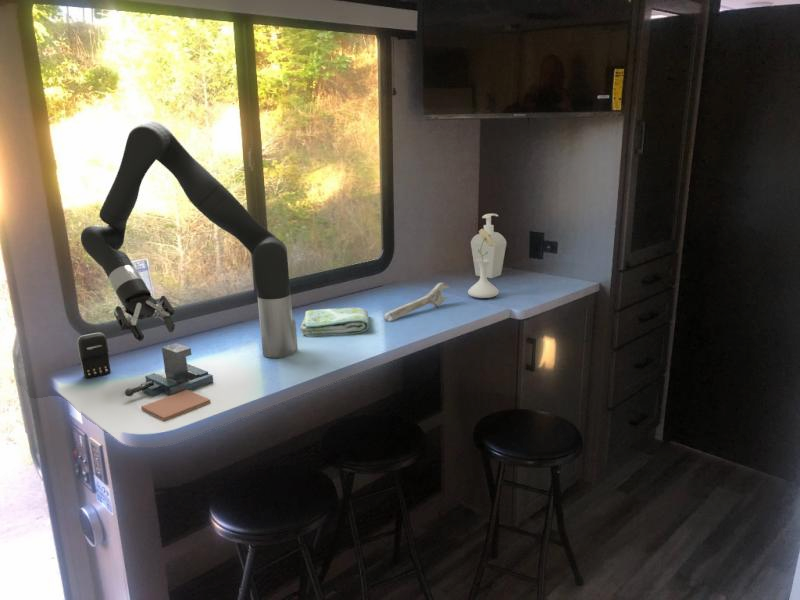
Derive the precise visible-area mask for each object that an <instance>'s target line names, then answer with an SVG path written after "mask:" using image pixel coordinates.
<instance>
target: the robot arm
mask: <svg viewBox="0 0 800 600" xmlns="http://www.w3.org/2000/svg"><path fill="white" fill-rule="evenodd" d="M155 161H157V162H159V163H160V164H161V165H162V166H164V168H166V169H167V170H168V171H169V172H170V173H171V175H173V177H174V178H175V180H176V181H177V182H178V184H179V185H180V187H181V188H182V190H183V192H184V193H185V196H186V198H187V199H188V201H190V203H191V204H192V205H193V206H194V207H195V208H196V210H198V211H199V212H200V214H202V215H203V216H205V218H206V219H208V220H209V222H210V221H211V223H213V224H214V225H216V227H219V228H220V229H221V230H223V231H225V232H226V233H228V234H230V235H232V236H233V237H234V238H236V240H238V241H239V242H240V243H241V244H242V245H243V246H244V248H246V249H247V250H248V251H249V253H250V255H252V266H253V274H254V285H255V289H256V297H257V307H258V317H259V318H258V319H259V327H260V328H259V329H260V338H261V351H262V355H263V357H265V358H271V359H279V358H285V357H289V356H292V355H293V354H294V353H295V352H296V351H298V350H299V349H298V348H299V347H298V335H297V323H296V318H294V317H293V308H292V296H291V283H290V273H289V261H288V260H289V258H288V250H287V247H286V245H285V244H284V242H283V241H282V240H280V239H279V238H278V237H277V236H275V235H274V234H273V233H271V232H270V231H269V230H268V229H266V227H264V226H262V225H261V224H260V223H259V222H258V221H257V220H256V219H255V218H254V217H253V216H252V214H250V212H248V210H247V209H246V208H245V207H244V205H242V204H241V202H240V201H239V200H238V199H237V198H236V197H235V196H234V195H233V194H232V193H231V192H230V191H229V190H228V189H227V188H226V187H225V186H224V185H223V184H222V183H221V182H220V181H219V180H217V179H216V178H215V176H213V175H212V174H211V173H210V172H209V171H208V170H207V169H206V168H205V167H204V166H203V165H202V164H200V162H198V161H197V160H196V159H195V158H194V157H193V156H192V155H191V154H190V153H189V152H188V151H187V149H186V148H185V147H184V146H183V145H182V144H181V143H180V141H179V140H178V139H177V138H176V136H174V134H173V133H172V132H171V131H170V130H169V129H168V127H166V126H164V125H163V124H162V123H160V122H156V121H146V122H143V123H141V124H139V125H137V126H135V127H133V128H132V129H131V130H130V132H129V133H128V137H127V138H126V143H125V146H124V151H123V155H122V158H121V161H120V166H119V168H118V171H117V174H116V176H115V179H114V181H113V183H112V185H111V188H110V189H109V191H108V193H107V195H106V197H105V200H104V202H103V204H102V206H101V208H100V210H99V219H100V220H101V221H102V222H103V223H105V224H106V225H107V226H95V225H91V226H90V225H89V226H86V227H85V228H84V229H82V232H81V234H80V241H81V246H82V247H83V249H84V251H85V252H86V253H87V254H88V255H89V256H90V257H91V258H92V259H93V260H94V261H95V262H96V263H97V264H98V265H99V266H101V268H102V269H103V271H104V273H105V274H106V276H107V278H108V280H109V282H110V284H111V287H112V288H113V292H115V294H116V296H117V297H118V300H119V301H120V303H121V304H122V307H121V306H119V305H117V306H116V307H115V309H114V311H113V315H114V317H115V318H116V321H117V323H118V325H119V327H120V329H121V330H122V331H125V330H129V331H130V332H131V333H132V335H133V337H134V338H135V339H136V340H137V341H139V342H142V341H143V340H144V338H145V336H144V334H143V332H142V330H141V328H140V327H139V325H138V324H137V321H138V320H141V321H142V320H145V319H146V318H147V319H149V318H152V317H153V318H155V319H160V320H162V322H163V323H164V326H165V328H166V329H167V331H168V332H169V333H173V332H174V330H175V327H176V324H175V323H174V321H173V320H172V318H173V316H174V314H175V313H176V312H175V311H176V310H175V308H174V307H173V306H172V305H171V303H170V301H169V300H168V299H167V297H166V296H165V295H161V296H160V297H159V298H156V299H155V298H154V297H153V296H152V294H151V291H150V290H149V288H148V286H147V284H146V283H145V281H144V280H143V277H142V276H141V275H140V272H139V271H138V270H137V269H136V268H135V266H134V265H133V263H132V261H131V259H130V257H129V256H128V254H127V253H125V251H122V250H120V249H121V248H122V246H123V244H124V243H125V236H126V230H127V223H128V220H129V218H130V216H131V214H132V212H133V210H134V207H135V206H136V204H137V201H138V200H137V199H138V197H139V194H140V193H139V192H140V189H141V185H142V182H143V180H144V178H145V177H146V174H147V173H148V171H149V170H150V168H151V167H152V166H153V164H154V163H155ZM125 314H128V315H130V316H131V319H130V322H128V319H127V318H126V315H125Z"/></svg>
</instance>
